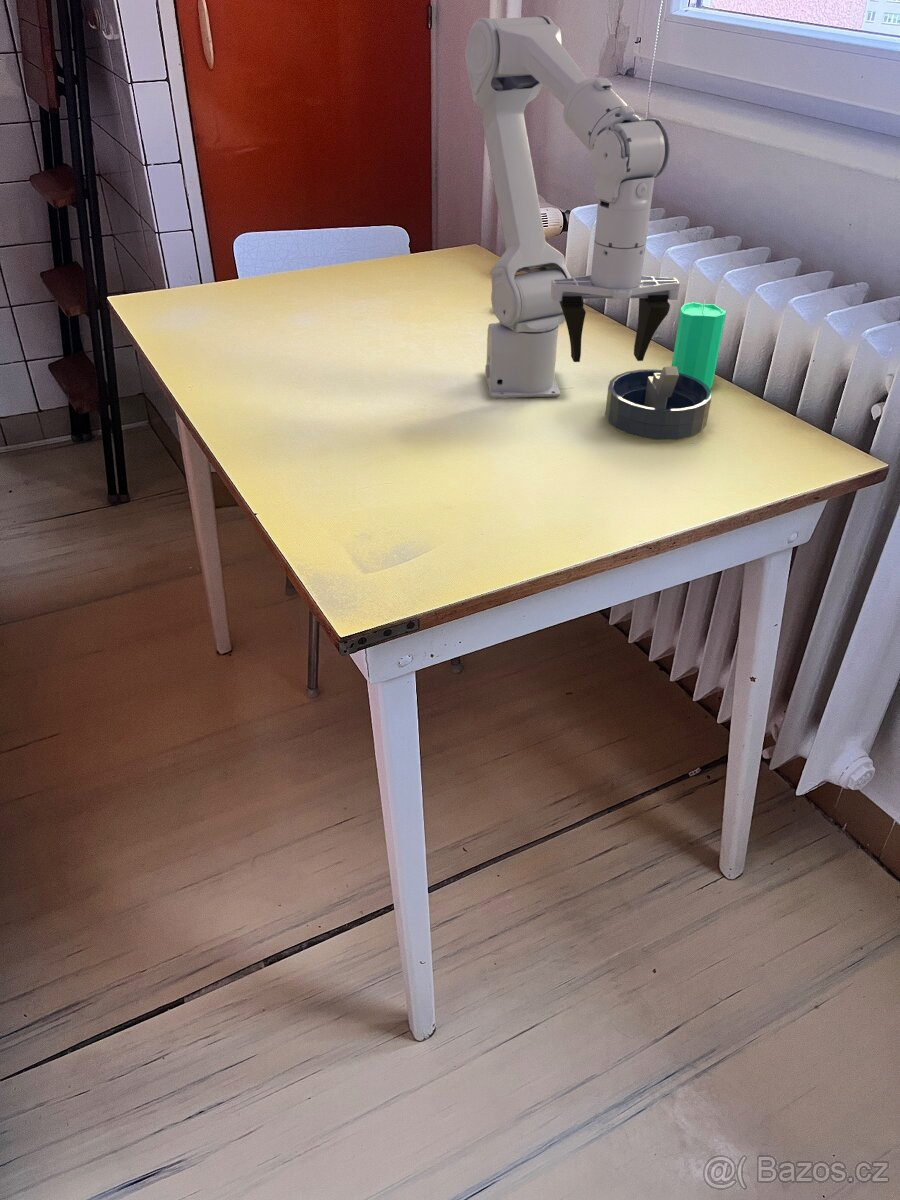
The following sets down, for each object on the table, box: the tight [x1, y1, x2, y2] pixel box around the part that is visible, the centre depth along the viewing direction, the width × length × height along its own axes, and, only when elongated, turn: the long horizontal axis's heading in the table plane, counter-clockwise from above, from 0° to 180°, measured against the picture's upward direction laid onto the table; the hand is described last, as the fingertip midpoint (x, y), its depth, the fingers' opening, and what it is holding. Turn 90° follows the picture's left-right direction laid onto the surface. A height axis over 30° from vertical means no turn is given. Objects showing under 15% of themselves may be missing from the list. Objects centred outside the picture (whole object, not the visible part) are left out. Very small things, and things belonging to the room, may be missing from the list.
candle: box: [670, 297, 727, 390], centre depth 127 cm, size 6×6×12 cm
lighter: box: [644, 366, 679, 409], centre depth 118 cm, size 7×2×8 cm, turn 4°
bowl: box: [604, 368, 713, 441], centre depth 120 cm, size 13×13×4 cm
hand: (606, 358), depth 112 cm, fingers open, 7 cm apart
